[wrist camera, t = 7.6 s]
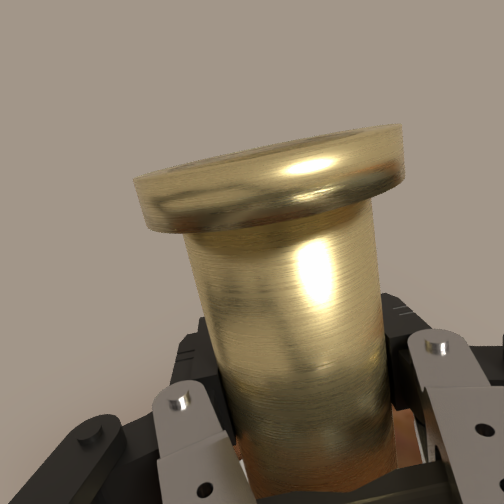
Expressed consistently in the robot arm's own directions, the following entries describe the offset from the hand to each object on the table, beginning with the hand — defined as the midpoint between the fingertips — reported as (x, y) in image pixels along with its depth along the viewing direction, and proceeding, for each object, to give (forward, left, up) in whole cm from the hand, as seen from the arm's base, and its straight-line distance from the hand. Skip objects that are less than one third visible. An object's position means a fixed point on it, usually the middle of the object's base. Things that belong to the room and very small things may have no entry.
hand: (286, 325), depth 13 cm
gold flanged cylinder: (-1, -3, -8) cm, 8 cm away
